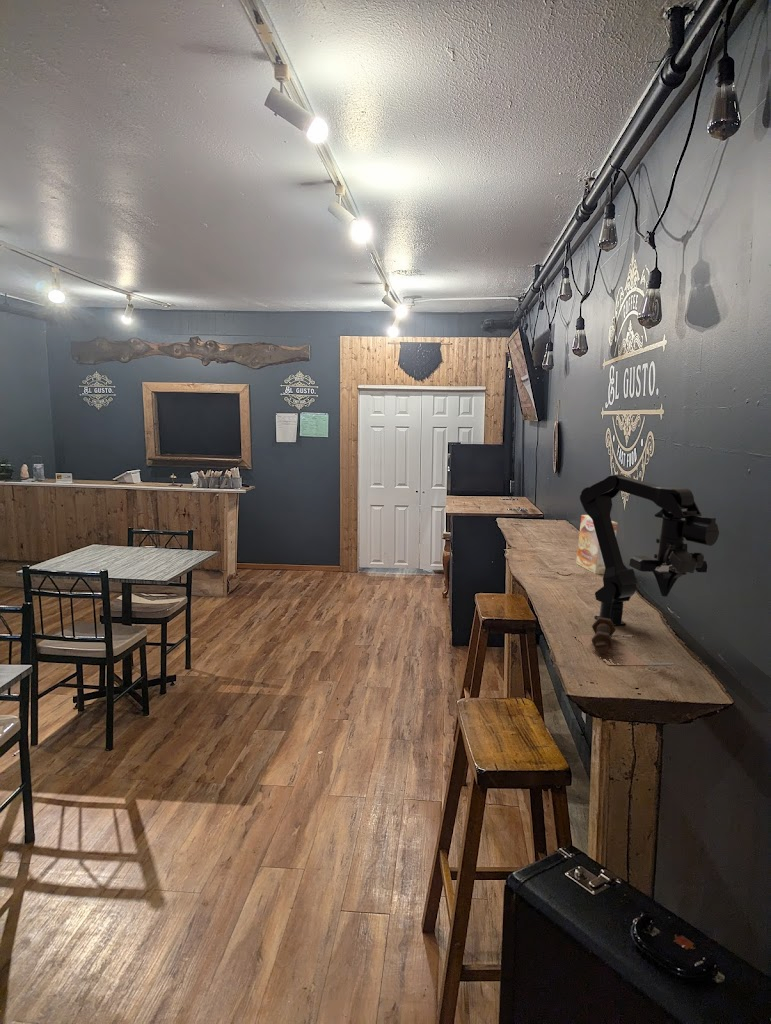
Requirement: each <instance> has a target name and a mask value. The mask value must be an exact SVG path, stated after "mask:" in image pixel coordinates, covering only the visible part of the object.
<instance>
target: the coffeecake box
mask: <svg viewBox="0 0 771 1024" xmlns="http://www.w3.org/2000/svg"><path fill="white" fill-rule="evenodd" d="M580 516H581V517H580V523H579V525H580V527H579V535H578V544H577V553H576V562H575V564H576V565H578V566H580V567H582V568H583V569H585V570H586V571H589V572H591V573H592V574H594V575H604V572H605V565H604V561H603V558H602V554H601V550H600V546H599V543H598V539H597V535H596V532H595V528H594V524H593V521H592V519H591V517H590V516H589V515H588V514H581V515H580ZM611 521H612V525H613V528H614V532H615V536H616V537H617V532H618V525H619V524H618V522H617V521H613V520H611Z"/></svg>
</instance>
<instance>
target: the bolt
mask: <svg viewBox="0 0 771 1024" xmlns="http://www.w3.org/2000/svg"><path fill="white" fill-rule="evenodd" d="M591 628H592V630H593V632H594V634H593V635H594V636H593V638H592V643H593V645H594V647H595V650H596V651H597V652H598V653H606V652H607V651H608V649H609V648H610V647H611V646H612V645H613V641H612V639H613V638H612V637H611V635H613V634H614V633H615V632H616V627H615V625H614V624H613V622H612V620H611V619H608V618H603V617H599V618H598V619H596V620H595V621H594V622H593V623H592V625H591ZM611 638H612V639H611Z"/></svg>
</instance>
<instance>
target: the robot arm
mask: <svg viewBox="0 0 771 1024" xmlns="http://www.w3.org/2000/svg"><path fill="white" fill-rule="evenodd" d="M620 492H623V493H626V494H630V495H633V496H636V497H639V498H642V499H645V500H649V501H651V502H652V503H654V504H655V505H656V506H657V507H658V508H661V510H659V511H658V512H657V513H655V514H654V517H655V518H660V519H661V526H660V534H659V538H656V539H655V540H656V541H655V543H657V544H658V548H657V553H654V555H653V558H654V559H653V558H651V557H648V556H646V555H632V556H631V557H630V559H629V565H628V566H629V567H631V568H630V569H629V568H627V567H626V565H625V563H624V561H623V558H622V554H621V551H620V547H619V544H618V540H617V535H616V536H615V532H614V528H613V525H612V521H613V520H612V517H611V511H612V508H613V501H612V500H613V499H614V498H615V497H617V496H618V495H619V494H620ZM579 500H580V504H581V506H582V508H583V510H584V512H585V513H586V515H589V516H590V517H591V519H592V521H593V524H594V528H595V532H596V535H597V539H598V543H599V546H600V550H601V554H602V558H603V561H604V565H605V572H604V574H603V577H602V582H603V586H602V587H601V588H599V589H598V590H596V591H595V592H594V597H595V601H598V602H600V607H599V615H594V617H593V618H594V619H596V620H597V619H598V618H599V617H603V618H608V619H611V620H612V622H613V624H614V626H626V625H627V623H626V622H625V621H623V609H624V602H629V601H630V599H631V597H632V596H633V595H634V594H635V593H636V591H637V589H638V587H637V584H638V581H637V578H636V576H635V571H634V569H635V570H637V571H640V572H643V573H644V572H646V573H647V572H650V573H653V576H654V577H655V580H656V582H657V585H658V588H659V593H660V594H661V596H662V597H663V598H664V597H668V595H669V593H670V592H671V589H672V588H673V586H674V585H675V583H676V582H677V580H678V579H679V578H681V577H682V576H686V575H687V574H688V573H689V574H694V573H695V572H696V573H707V572H708V567H709V565H708V562H707V560H705V555H704V554H703V553H702V552H694V553H693V552H689V551H688V548H689V547H688V543H686V542H685V541H687V542H691V543H695V544H696V543H697V544H699V545H700V544H701V545H705V546H709V547H711V546H713V545H715V544H716V542H717V541H718V538H719V535H720V530H719V526H718V524H717V523H716V517H712V516H702V513H701V511H700V510H699V507H698V506H697V503H696V501H695V498H694V494H693V492H692V490H690V489H689V488H684V487H673V486H660V485H657V484H653V483H650V482H646V481H643V480H639V479H636V478H633V477H628V476H627V475H624V474H610V475H609V476H607V477H606V478H604V479H603V480H600V481H598V482H597V483H594V484H593V485H591V486H588V487H584V488H583V489H582V491H581V492H580V494H579Z"/></svg>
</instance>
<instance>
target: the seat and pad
mask: <svg viewBox="0 0 771 1024" xmlns="http://www.w3.org/2000/svg"><path fill="white" fill-rule="evenodd" d="M580 635H581V636H582V637H581V638H582V640H583V641H584V642H585V643H582V644H581V645H582V646H584V647H585V648H586V649H587V648H588V649H587V650H589V651H590V652H591V653H592V654H593V653H594V655H595V656H596V657H597V658H598V657H599V658H598V659H600V660H601V661H602V660H603V659H606V660H607V661H609V662H610V660H609V659H611V660H612V662H613V663H614V664H616V665H617V663H619V664H621V665H623V664H625V666H671V665H673V666H675V664H676V663H674V662H651V663H650V662H648V663H647V662H645V661H644V660H642V659H641V658H639V656H637V655H635V654H633V653H632V652H631V651H630V650H628V649H627V648H626V647H624V645H623V646H622V644H620V643H619V642H617V641H616V640H615V639H613V638H615V637H616V638H619V637H622V638H623V636H624V638H629V637H630V638H632V636H633V635H632V634H628V635H627V634H617V635H616V634H614V635H613V634H612V635H611V636H612V637H613V638H612V637H611V639H612V641H613V645H612V646H611V647H610V648H609V649H608V651H607V652H606V653H598V652H597V651H596V650H595V647H594V645H593V643H591V642H592V638H593V636H594V635H595V634H580ZM583 635H584V636H583ZM588 635H589V636H590V637H589V636H588ZM578 637H579V636H578ZM579 638H580V637H579ZM579 638H578V639H579ZM586 639H587V641H589V642H590V644H589V643H587V642H586ZM582 640H580V639H579V641H582ZM579 641H578V642H579ZM583 641H582V642H583ZM600 657H601V658H600ZM610 663H611V662H610Z"/></svg>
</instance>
